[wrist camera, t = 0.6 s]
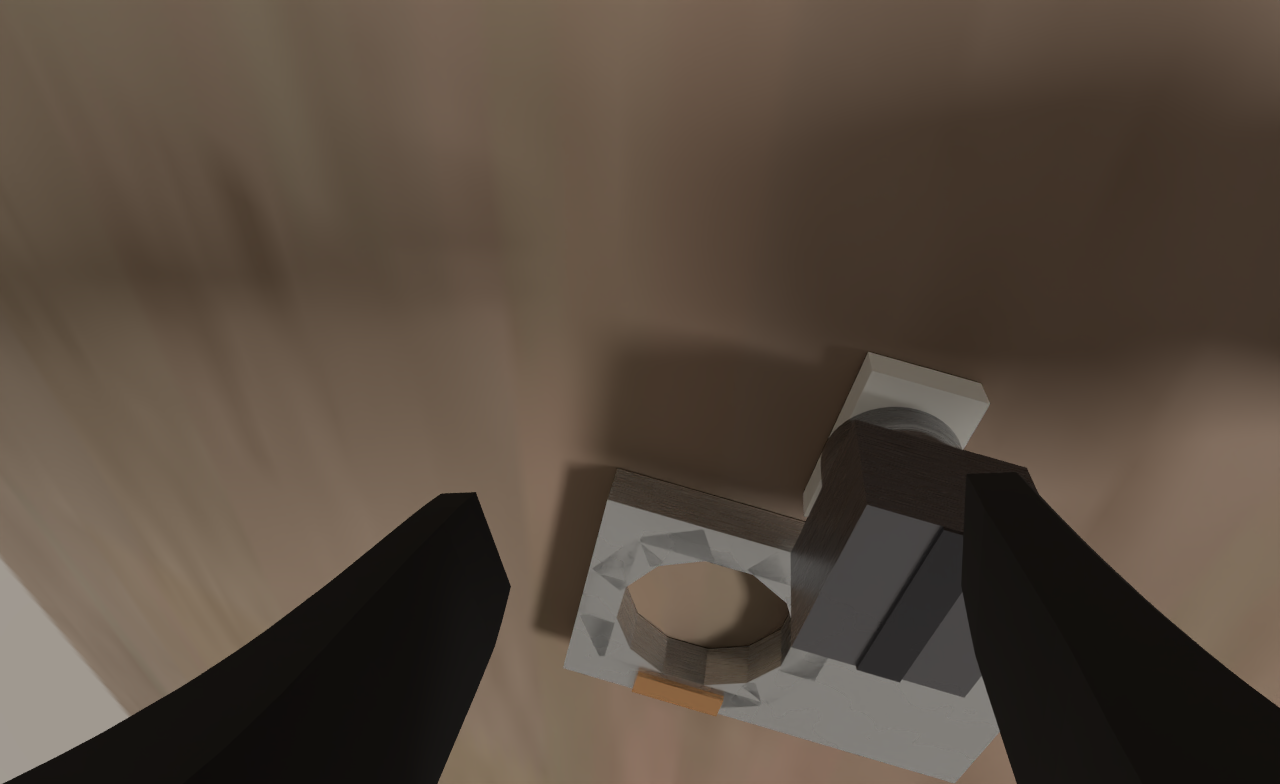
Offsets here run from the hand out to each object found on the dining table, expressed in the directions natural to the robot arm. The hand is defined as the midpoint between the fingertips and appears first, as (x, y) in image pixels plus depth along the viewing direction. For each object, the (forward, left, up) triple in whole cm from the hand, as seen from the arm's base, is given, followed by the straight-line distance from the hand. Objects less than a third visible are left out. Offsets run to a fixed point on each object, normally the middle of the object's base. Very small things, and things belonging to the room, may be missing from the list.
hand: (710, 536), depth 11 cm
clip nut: (-5, +3, -8) cm, 10 cm away
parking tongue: (-5, +3, -9) cm, 11 cm away
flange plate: (-5, +11, -9) cm, 15 cm away
